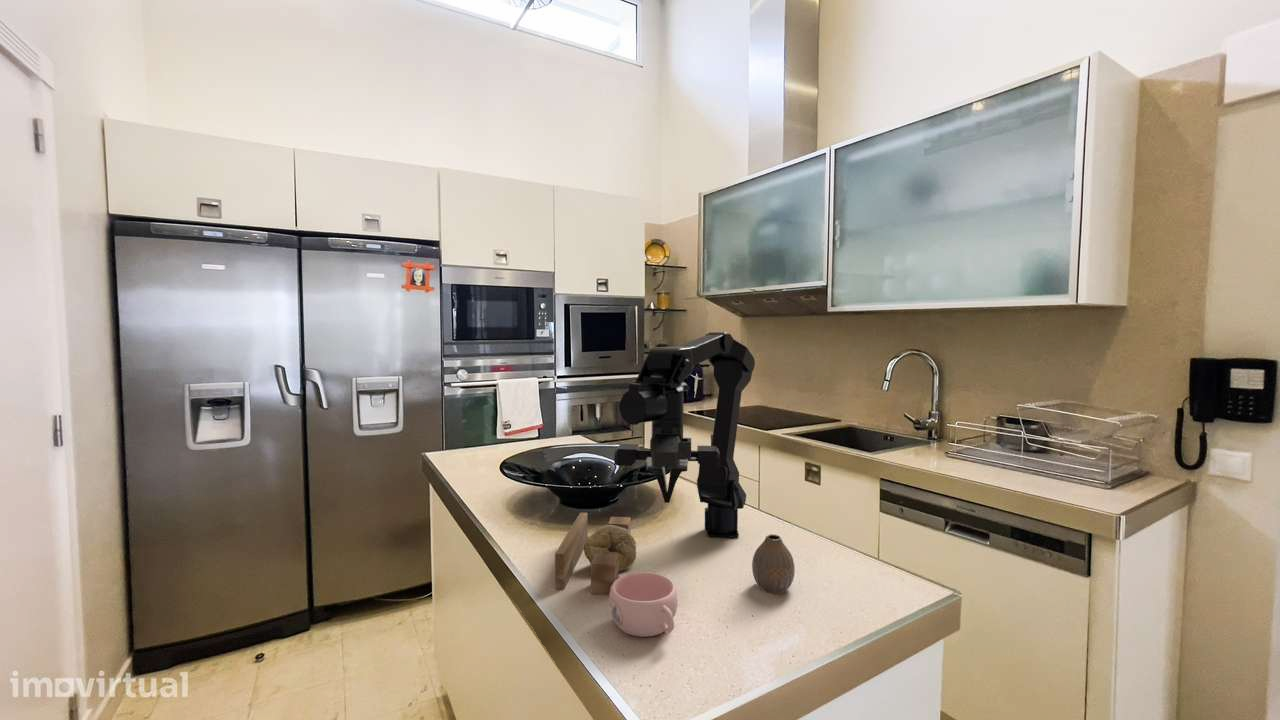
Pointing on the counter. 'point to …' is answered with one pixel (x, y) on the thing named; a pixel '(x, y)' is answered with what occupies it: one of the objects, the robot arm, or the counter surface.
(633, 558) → the fossil
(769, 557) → the vase
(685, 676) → the counter surface
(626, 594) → the mug
